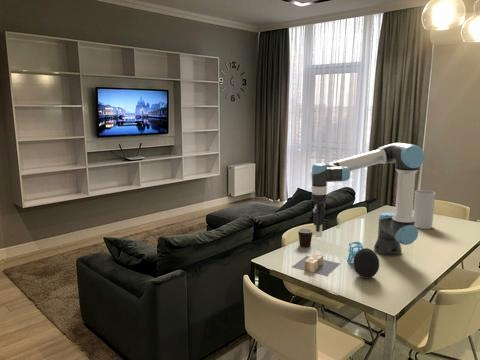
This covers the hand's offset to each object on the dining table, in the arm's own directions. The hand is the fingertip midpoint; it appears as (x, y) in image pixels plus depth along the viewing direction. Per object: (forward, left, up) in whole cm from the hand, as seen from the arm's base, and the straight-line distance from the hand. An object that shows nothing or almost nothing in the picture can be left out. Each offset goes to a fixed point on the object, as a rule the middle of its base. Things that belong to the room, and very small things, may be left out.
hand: (318, 236), depth 207 cm
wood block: (0, -2, -13) cm, 13 cm away
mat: (0, +1, -17) cm, 16 cm away
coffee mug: (+18, -24, -17) cm, 35 cm away
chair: (-16, -14, -17) cm, 27 cm away
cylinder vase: (-34, -103, -17) cm, 110 cm away
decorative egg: (-26, 0, -17) cm, 31 cm away
